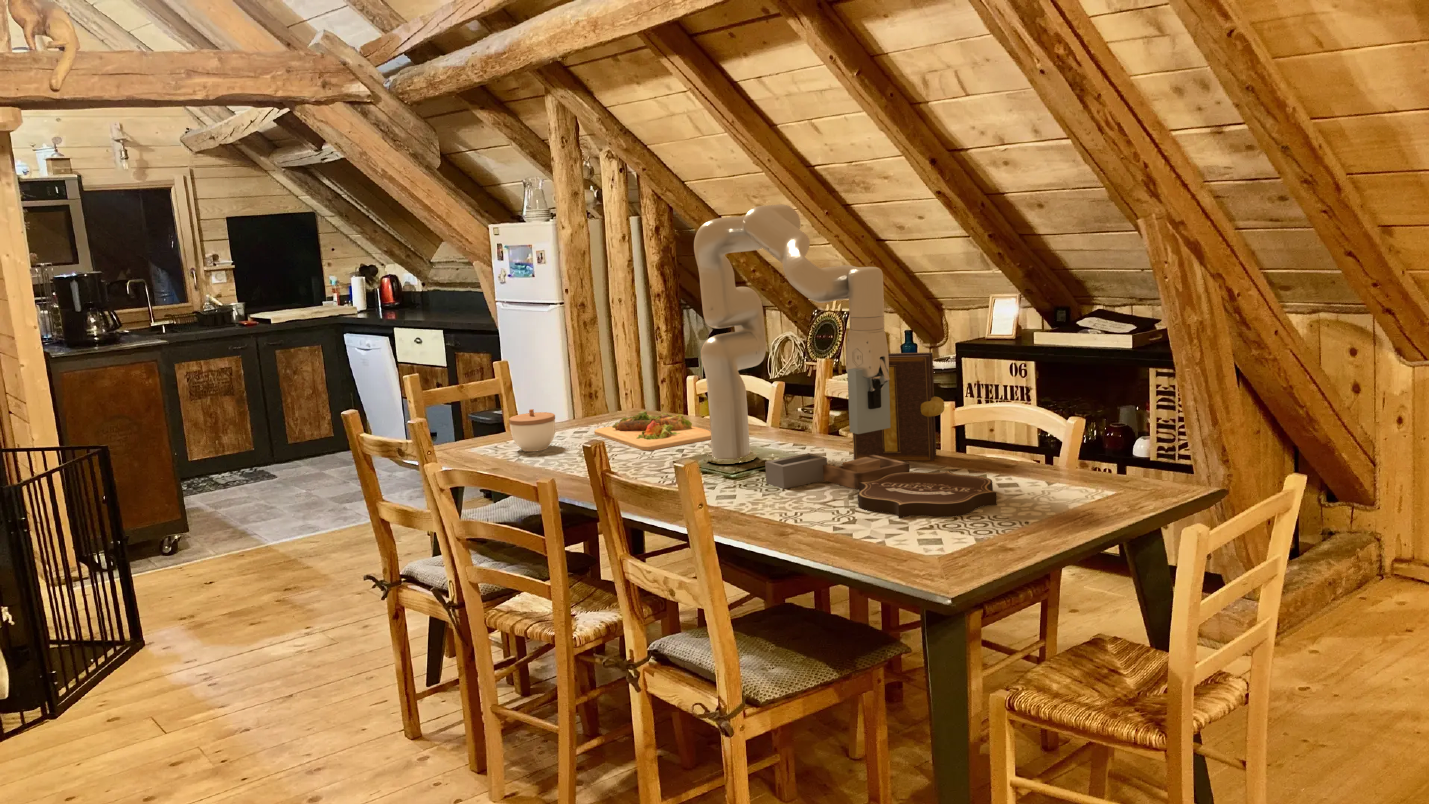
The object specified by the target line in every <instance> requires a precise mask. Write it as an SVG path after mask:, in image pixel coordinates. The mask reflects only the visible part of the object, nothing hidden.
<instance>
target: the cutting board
mask: <svg viewBox="0 0 1429 804" xmlns="http://www.w3.org/2000/svg"><path fill="white" fill-rule="evenodd" d="M593 434H594V435H595V436H597V437H601V438H604V439H607V440H610V441H613V442H616V443H619V444H622V445H625V446H628V447H630V448H634V449H637V450H640V451H654V450H659V449H660V450H661V449H665V448H672V447H676V446H682V445H687V444H695V443H699V442H703V441H704V442H705V441H711V431H710V430H708V429H705V428H701V427H697V426H693V422H692V421H690V420H689V419H686V418H685V416H684V415H683V414H681V413H680V414H679V413H678V414H677V415H673V414H670V413H666V412H662V413H661V414H660V415H658V416H655V415H650V414H649V415H648V411H647V410H645V411H639V412H638V413H637V414H636V415H633V416H630V417H621V419H620V420H619V422H618V421H615V423H614V424H612V426H611V425H610V426H604V427H600V428H595V430H594V433H593Z"/></svg>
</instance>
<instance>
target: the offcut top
mask: <svg viewBox="0 0 1429 804" xmlns="http://www.w3.org/2000/svg"><path fill="white" fill-rule="evenodd" d="M842 465H843V469H847V470H851V471H854V472H858V473H859V472H864V471H868V470H873V469H878V468H880V459H874V458H869V457H864V458H860V459H855V460H854V459H852V460H848V461H847V460H846V461H844V462H842Z"/></svg>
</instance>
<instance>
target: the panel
mask: <svg viewBox="0 0 1429 804" xmlns="http://www.w3.org/2000/svg"><path fill="white" fill-rule="evenodd" d="M846 373H847V393H848V396H847V397H848V417H849V418H848V419H849V420H848V422H849V423H848V424H849V432H850V433H851V434H853V433H855V434H862V433H867V432H872V431H877V430H882V429H887V428H891V427H890V396H889V381H887V382H886V383H885V384H884V385H883V389H882V390H881V407H880V408H876V409H869V408H868V391H870V389H869V378H865V377H863V376H862V370H860V369H854V368H853V369H847V371H846ZM888 375H889V371H888ZM875 376H877V375H875ZM876 380H877V379H874V383H875V381H876Z"/></svg>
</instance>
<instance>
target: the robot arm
mask: <svg viewBox="0 0 1429 804" xmlns="http://www.w3.org/2000/svg"><path fill="white" fill-rule="evenodd" d="M800 228H801V218H800V216H799V213H798V212H797V211H796V210H795V208H793V207H792V206H789V205H788V204H784V203H783V204H780V203H779V204H769V205H768V204H767V205H757V206H755V207H753V208H751V209H749V210H748V211H747V213H746V214H745V215H743V216H729V217H728V216H727V217H719V218H713V219H711V220H708V221H706V222H704V223H703V224H702V225H701V226H700V227H699V228H698V230H697V231H696V234H695V237H694V240H693V252H694V257H695V261H696V265H697V268H698V269H697V270H698V275H699V286H700V297H701V305H702V314H703V318H704V319H703V320H704V322H705V324H706V325H707V326H708V327H710V328H713V329H726V328H731V327H734V331H730V332H726V333H725V332H724V333H720V334H719V333H718V334H716V335H713V336H711V337H709V338H708V339H706V340H705V341H704V343H703V345H702V347H701V350H700V358H701V362H702V367H703V371H704V374H705V375H704V376H705V379H706V389H707V400H708V415H709V428H710V430H709V431H711V440H710V441H709V442H708V444H707V446H708V448H711V453H710V454H707V455H706V456H708V455H712V457H715V458H717V459H734V460H738V459H737V458H740V457H746V456H748V455H751V454H750V452H754V451H752V450H751V447H750V446H751V445H750V432H749V429H750V428H749V414H748V401H747V400H748V399H747V388H746V384H745V382H744V380H743V378H742V376H741V374H740V373H739V371H741V370H745V369H746V370H747V369H749V368H753V367H757V366H759V365H760V364H761V363H762V362H763V361H764V360H765V357H766V354H767V353H766V352H767V341H766V329H765V328H766V327H765V317H764V309H763V308H764V307H763V304H762V300H761V298H760V296H759V294H758V293H757V292H756V291H755V290H754V289H753V288H751V287H749V286H736V281H735V280H736V279H735V271H734V269H733V266H732V264H731V262H730V260H729V259H728V257H727V256H726V255H727V254H731V253H743V252H752V251H757V250H760V249H762V250H764V251H765V252H767V253H768V254H769V255H771V256H772V257H774V258H775V259H776V260H777V261H778V262H780V263H781V264H782V269H783V273H784V276H785V277H786V279H787V281H788V283H789V284H790V285H791V286H792V287H793V288H794V289H795V290H796V291H798V292H799V293H800V294H802V295H803V296H804V297H806V298H807V299H809V300H811V301H813V302H815V303H819V304H820V303H822V304H823V303H830V302H835V301H842V300H848V308H849V309H848V312H849V313H848V315H849V329H848V331H847V336H846V342H845V343H846V344H845V346H846V347H845V370H846V372H847V369H853V368H854V369H860V370H862V376H863V377H865V378H869V389H870V391H868V408H869V409H876V408H880V407H881V390H882V389H883V385H884V384H885V383H886V382H887V381H889V379H890V378H889V375H888V371H889V357H888V353H889V347H888V340H887V334H886V331H885V329H886V328H885V305H884V304H885V303H884V302H885V301H884V300H885V299H884V297H885V296H884V293H885V292H884V274H883V271H882V269H881V268H880V267H876V266H860V267H858V266H854V265H850V264H849V265H848V264H847V265H846V264H845V265H836V266H827V267H819V266H818V265H815V264H814V263H813V262H812V261H811V260H809V259H808V258H807V257H806V255H807V254H808V252H809V250H810V246H811V245H810V244H811V242H810V238H809V236H808V234H806V233H805V232H804V231H802V230H801V229H800ZM875 375H877V376H875ZM874 379H877V380H876V381H875V383H874ZM752 455H753V454H752ZM755 455H757V453H756V454H755Z"/></svg>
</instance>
